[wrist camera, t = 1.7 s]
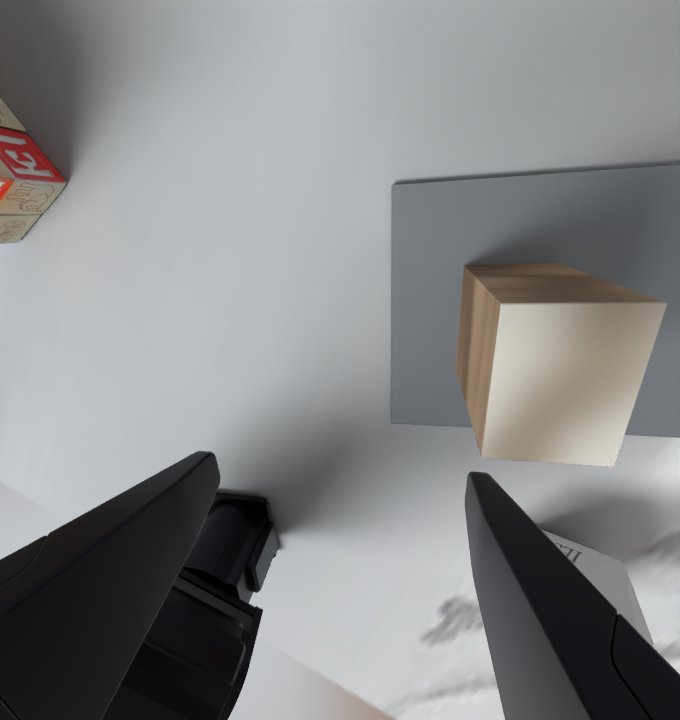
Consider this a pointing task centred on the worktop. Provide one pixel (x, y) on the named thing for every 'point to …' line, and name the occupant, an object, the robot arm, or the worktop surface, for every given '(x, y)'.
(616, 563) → the die
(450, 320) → the rubber mat
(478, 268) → the wooden block
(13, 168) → the stack of blocks
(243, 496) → the robot arm
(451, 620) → the worktop surface
